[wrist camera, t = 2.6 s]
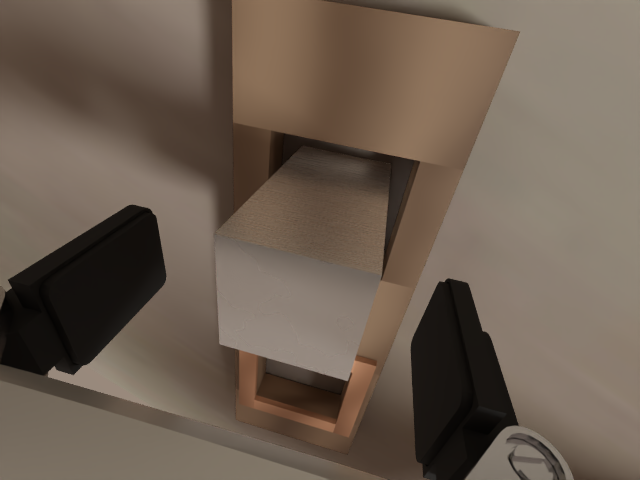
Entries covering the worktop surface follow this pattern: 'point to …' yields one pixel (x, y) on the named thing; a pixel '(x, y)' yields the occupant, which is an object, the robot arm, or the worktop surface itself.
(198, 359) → the worktop surface
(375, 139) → the tan flat board
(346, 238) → the grey square block
